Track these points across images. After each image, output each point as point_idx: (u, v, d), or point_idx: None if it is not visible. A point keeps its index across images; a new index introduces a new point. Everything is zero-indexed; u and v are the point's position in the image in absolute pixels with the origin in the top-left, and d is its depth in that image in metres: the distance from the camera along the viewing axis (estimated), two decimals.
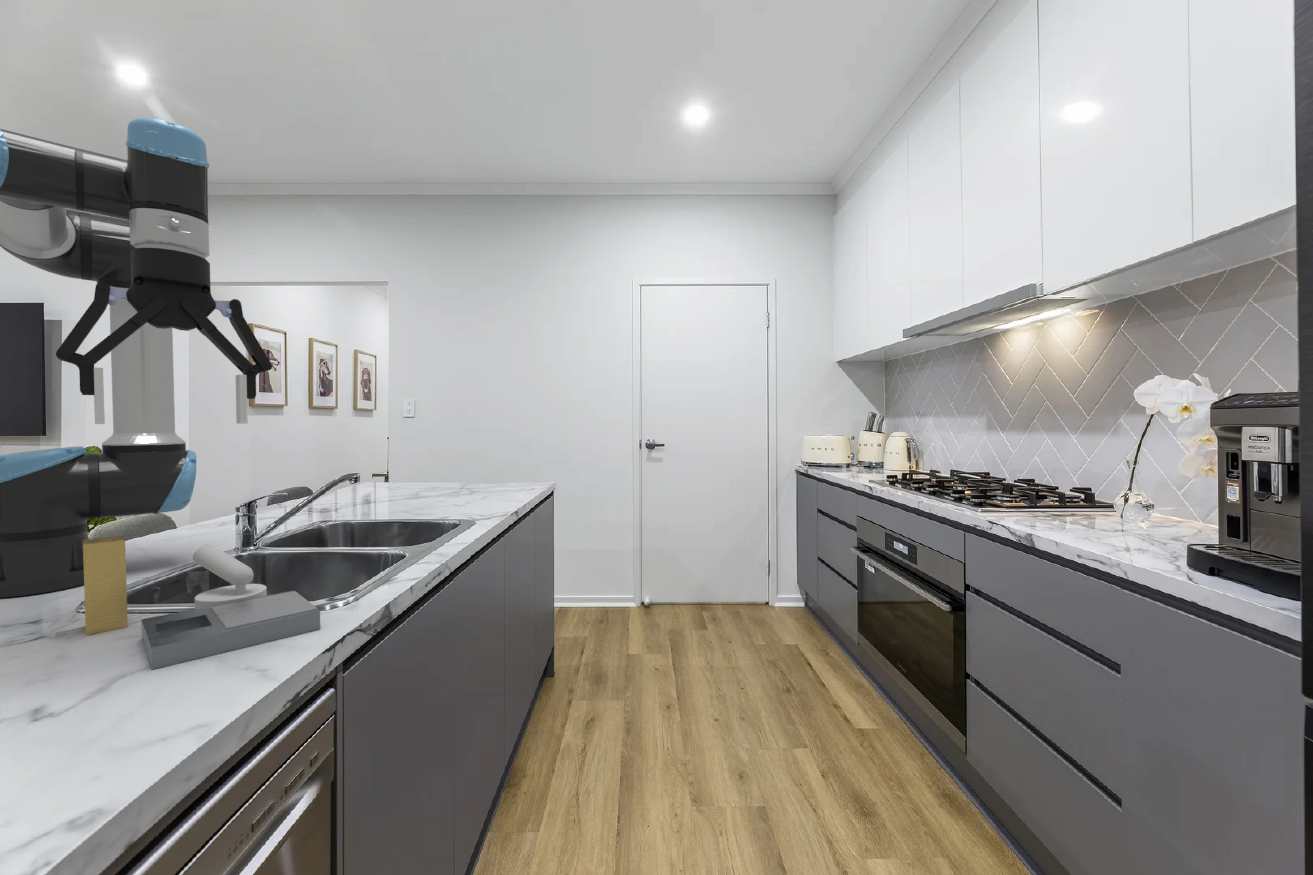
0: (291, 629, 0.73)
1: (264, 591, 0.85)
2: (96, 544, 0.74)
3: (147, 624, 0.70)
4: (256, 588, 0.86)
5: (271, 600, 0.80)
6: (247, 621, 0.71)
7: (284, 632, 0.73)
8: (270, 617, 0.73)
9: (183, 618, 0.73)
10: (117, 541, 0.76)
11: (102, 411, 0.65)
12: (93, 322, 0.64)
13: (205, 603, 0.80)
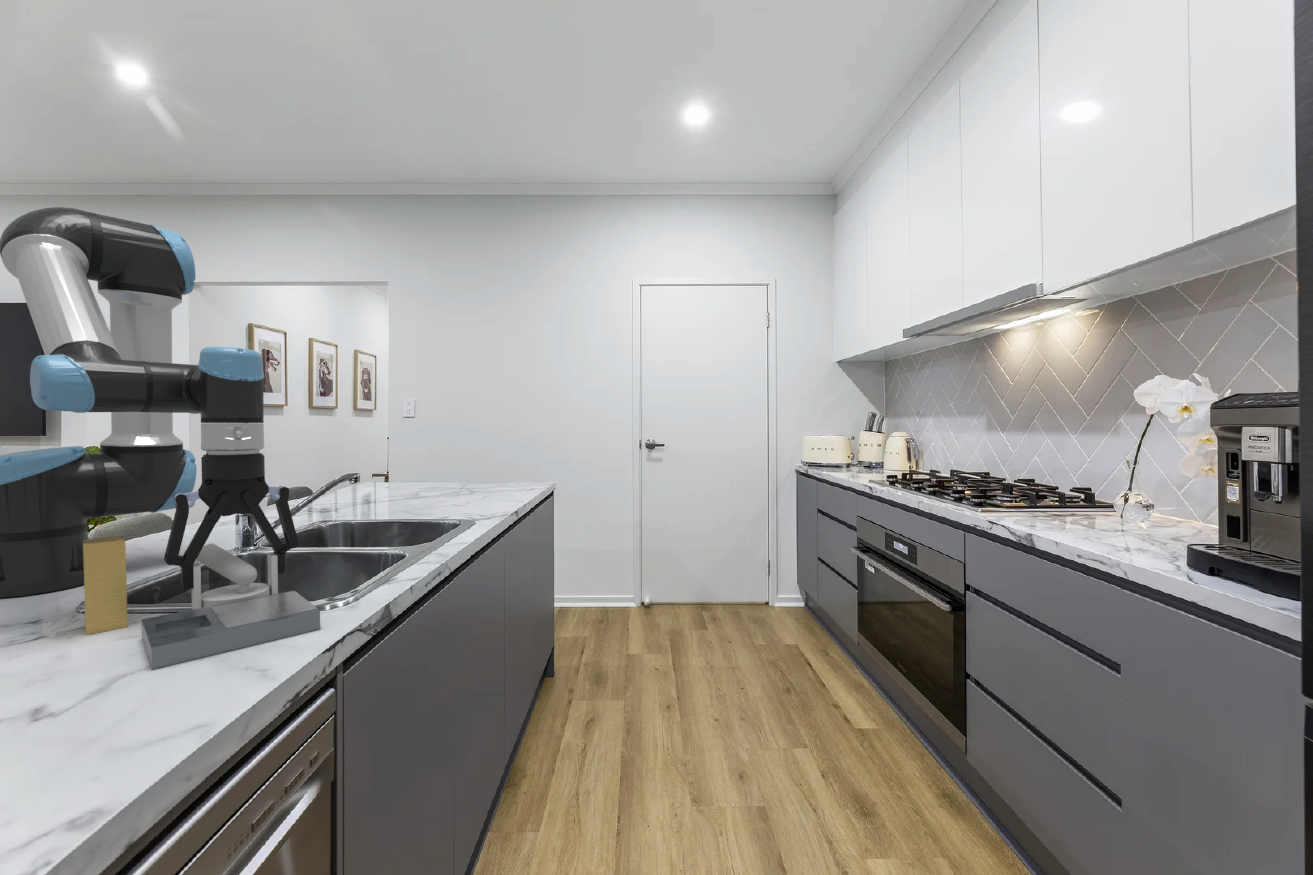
0: (291, 629, 0.73)
1: (268, 590, 0.85)
2: (96, 544, 0.74)
3: (147, 624, 0.70)
4: (259, 587, 0.86)
5: (271, 600, 0.80)
6: (247, 621, 0.71)
7: (284, 632, 0.73)
8: (270, 617, 0.73)
9: (183, 618, 0.73)
10: (117, 541, 0.76)
11: (199, 601, 0.80)
12: (183, 528, 0.78)
13: (210, 602, 0.80)
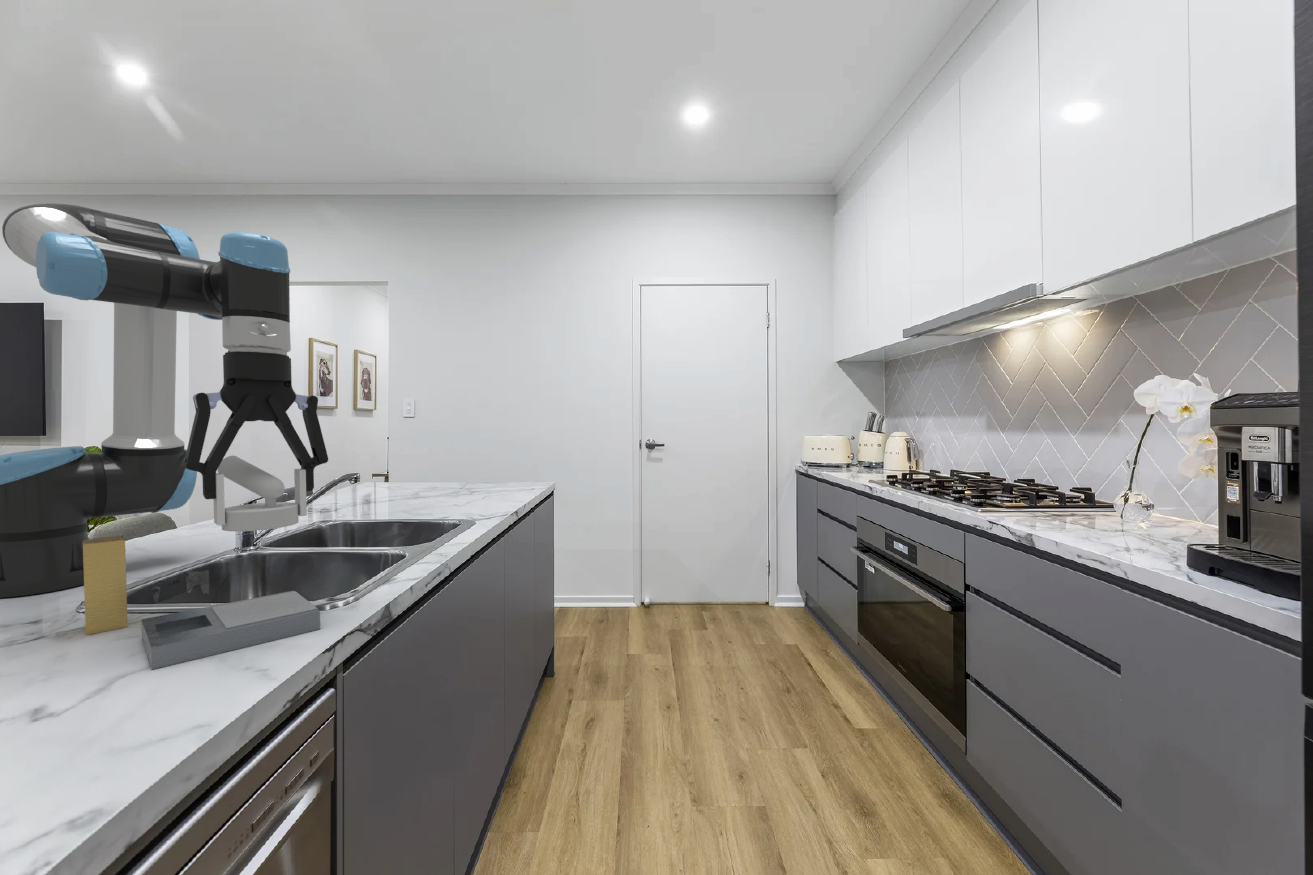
0: (291, 629, 0.73)
1: (296, 507, 0.78)
2: (96, 544, 0.74)
3: (147, 624, 0.70)
4: (287, 504, 0.78)
5: (271, 600, 0.80)
6: (247, 621, 0.71)
7: (284, 632, 0.73)
8: (270, 617, 0.73)
9: (183, 618, 0.73)
10: (117, 541, 0.76)
11: (223, 513, 0.72)
12: (205, 430, 0.71)
13: (234, 513, 0.72)
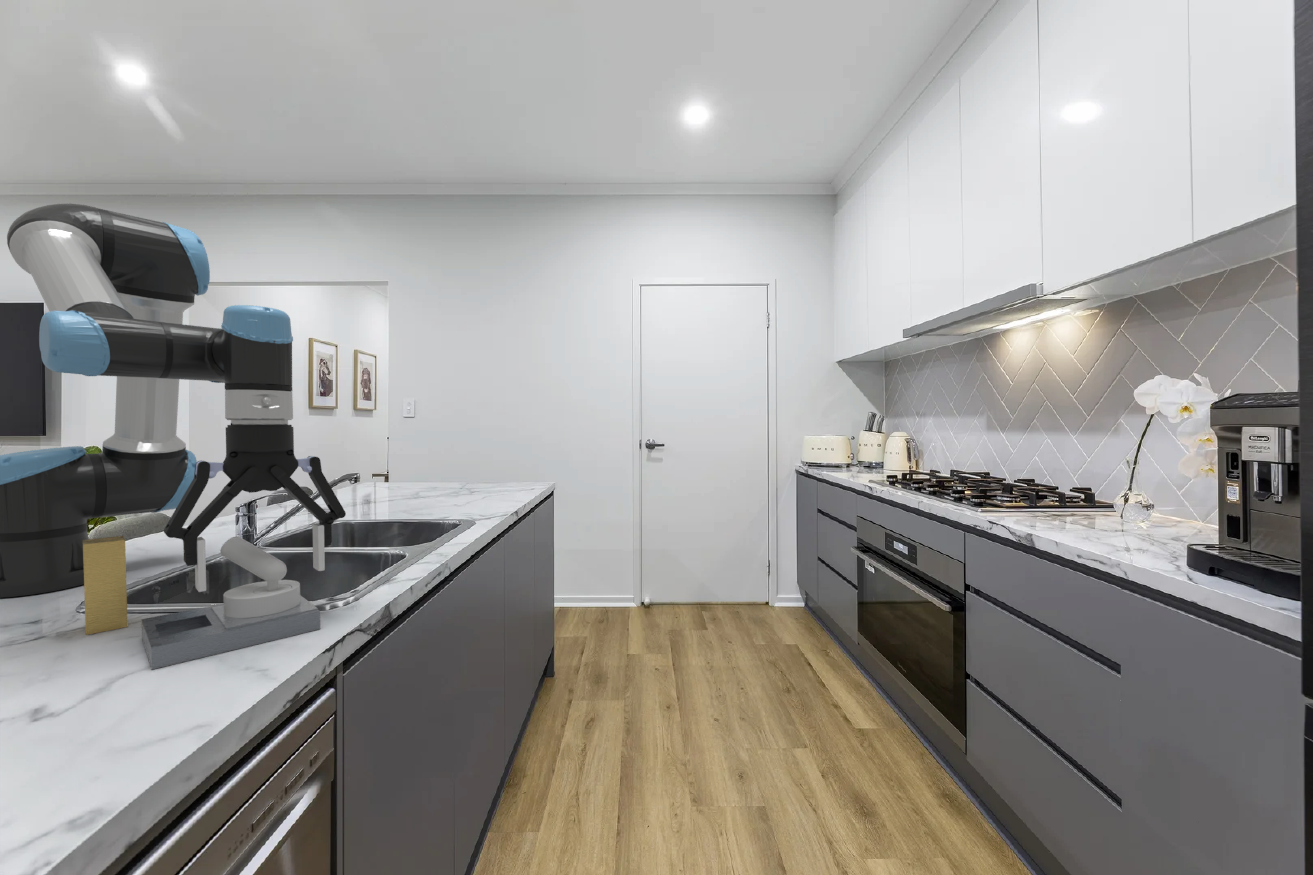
0: (291, 629, 0.73)
1: (298, 587, 0.78)
2: (96, 544, 0.74)
3: (147, 624, 0.70)
4: (289, 584, 0.79)
5: None
6: (247, 621, 0.71)
7: (284, 632, 0.73)
8: (270, 617, 0.73)
9: (183, 618, 0.73)
10: (117, 541, 0.76)
11: (204, 579, 0.71)
12: (196, 499, 0.70)
13: (236, 600, 0.73)
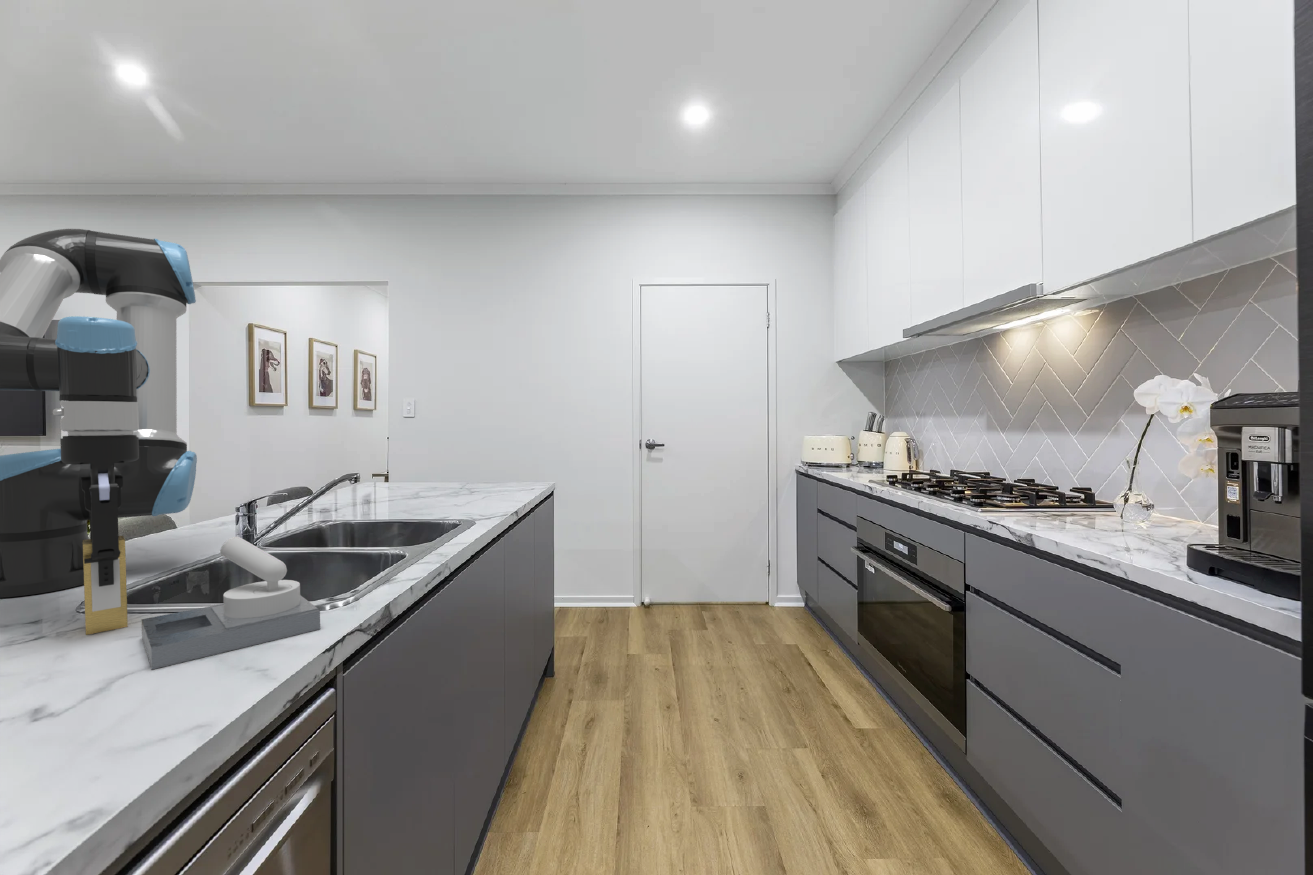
0: (291, 629, 0.73)
1: (298, 588, 0.78)
2: None
3: (147, 624, 0.70)
4: (289, 584, 0.79)
5: None
6: (247, 621, 0.71)
7: (284, 632, 0.73)
8: (270, 617, 0.73)
9: (183, 618, 0.73)
10: None
11: None
12: (89, 511, 0.78)
13: (236, 600, 0.73)
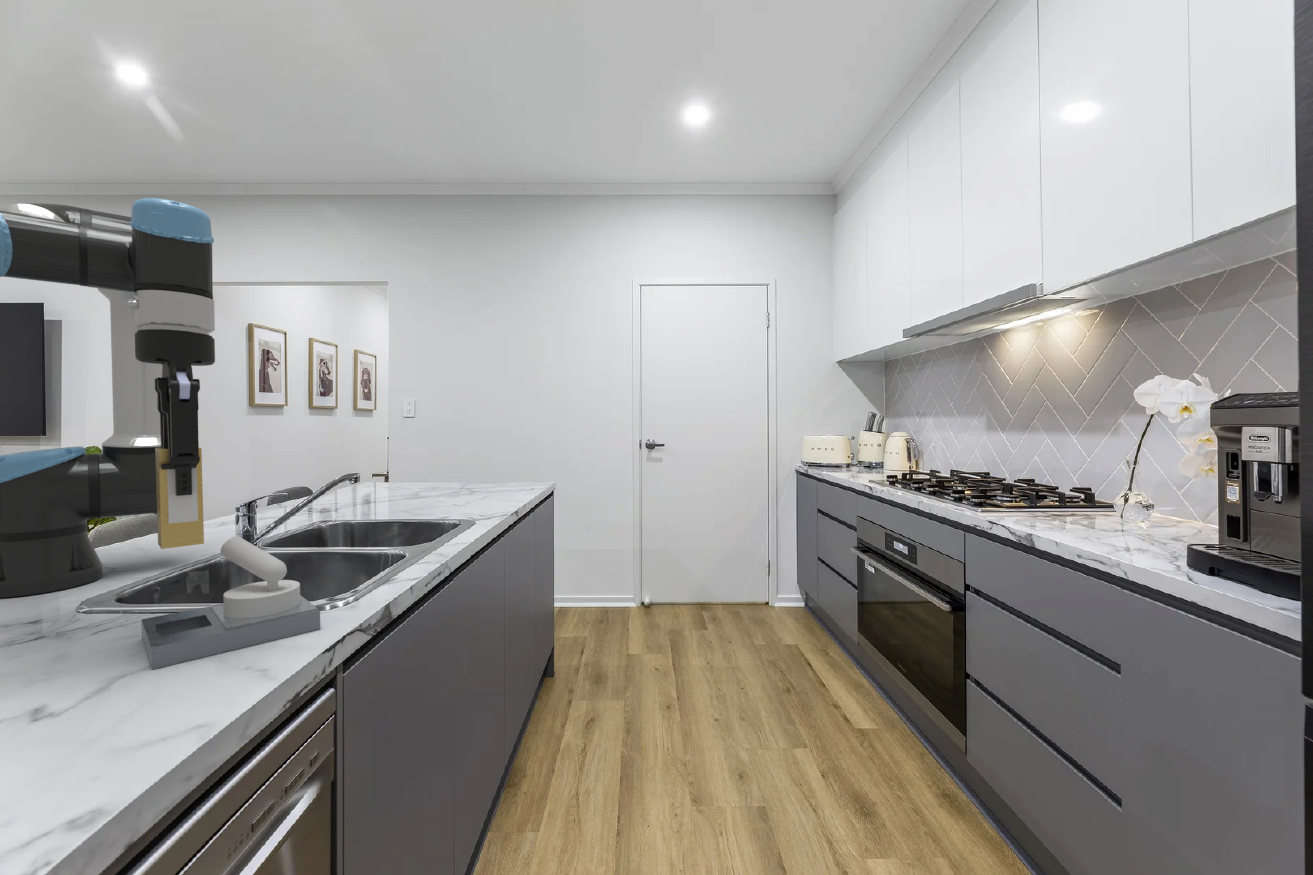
0: (291, 629, 0.73)
1: (298, 588, 0.78)
2: None
3: (147, 624, 0.70)
4: (289, 584, 0.79)
5: None
6: (247, 621, 0.71)
7: (284, 632, 0.73)
8: (270, 617, 0.73)
9: (183, 618, 0.73)
10: None
11: None
12: (160, 420, 0.72)
13: (236, 600, 0.73)
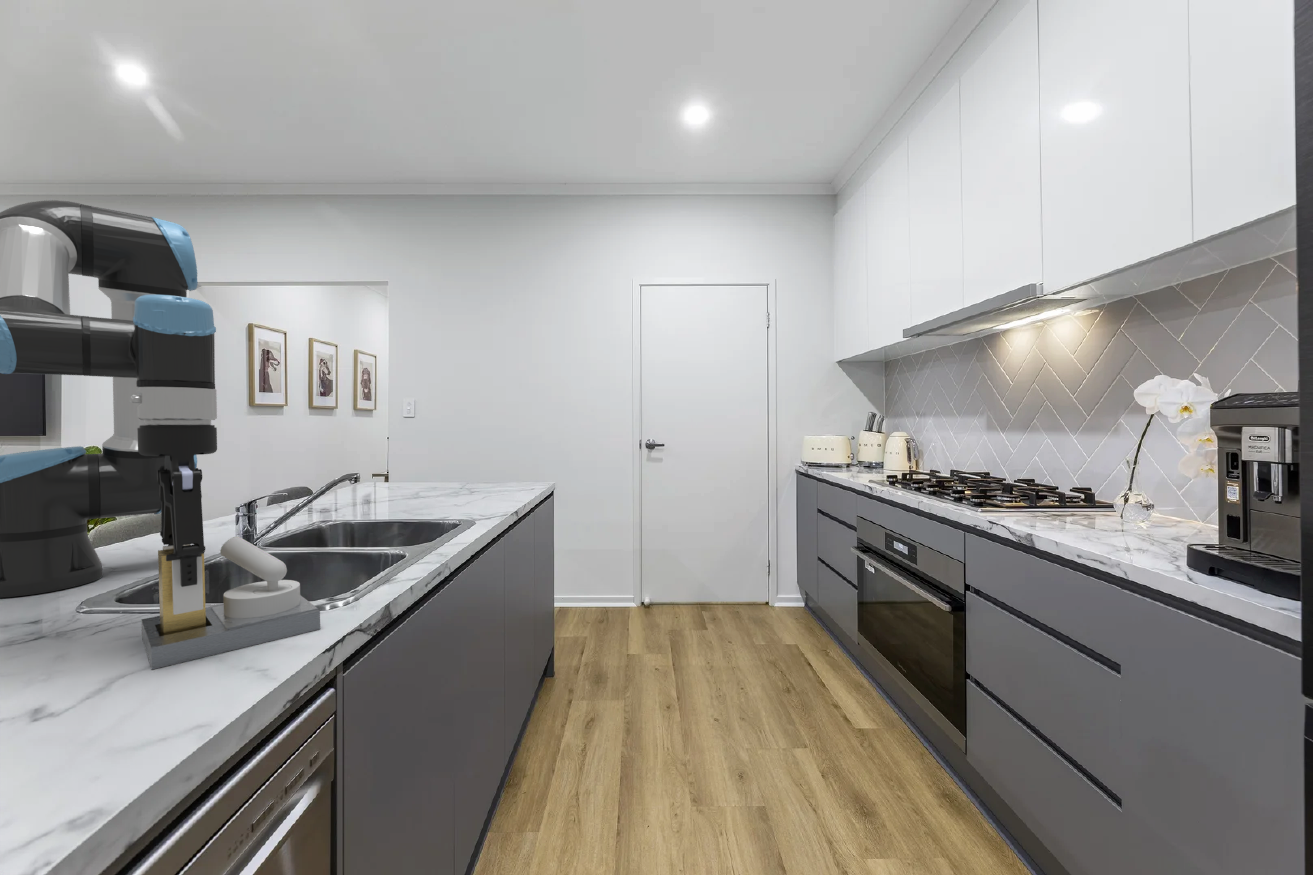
0: (291, 629, 0.73)
1: (298, 588, 0.78)
2: None
3: (147, 624, 0.70)
4: (289, 584, 0.79)
5: None
6: (247, 621, 0.71)
7: (284, 632, 0.73)
8: (270, 617, 0.73)
9: None
10: None
11: None
12: (162, 502, 0.73)
13: (236, 600, 0.73)
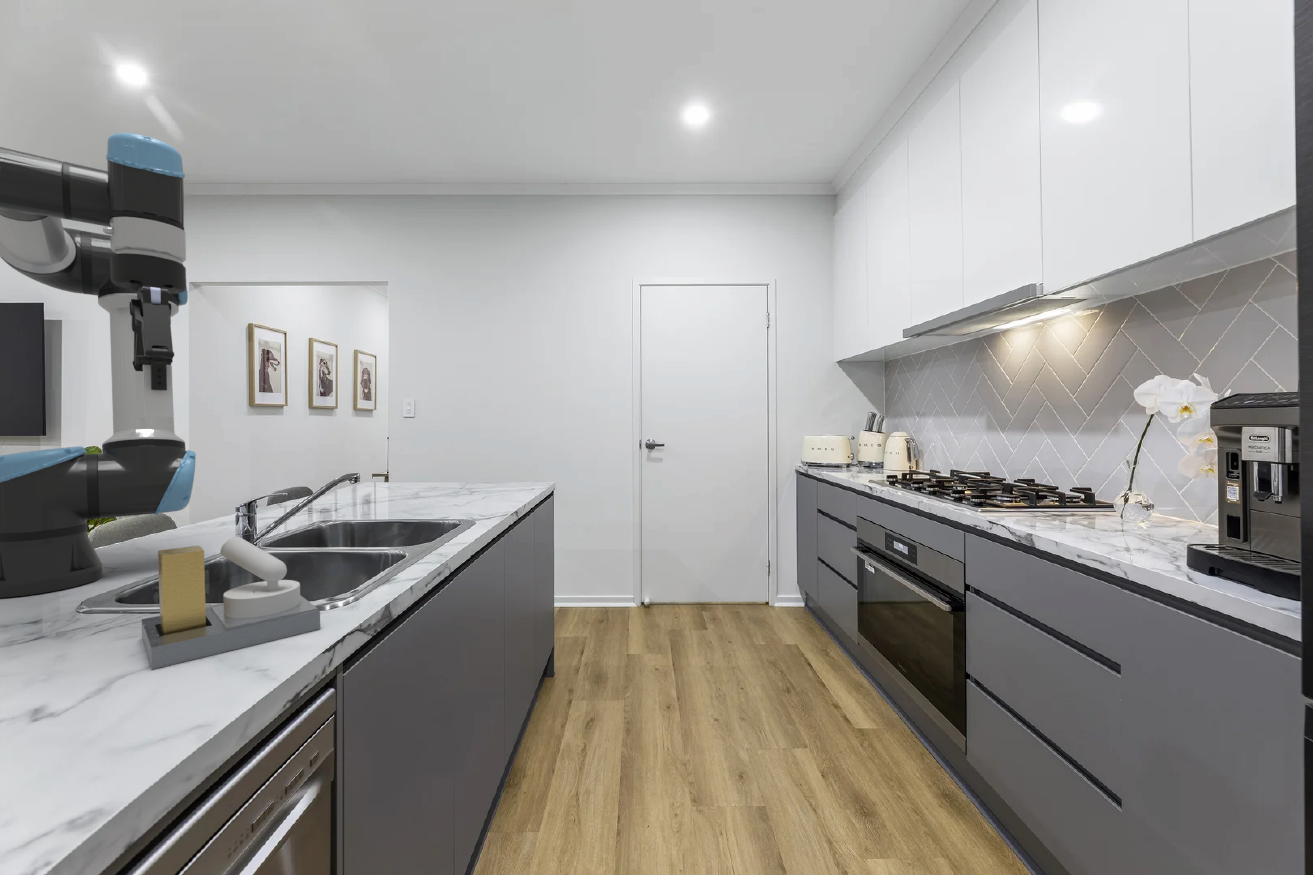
0: (291, 629, 0.73)
1: (298, 588, 0.78)
2: (175, 555, 0.68)
3: (147, 624, 0.70)
4: (289, 584, 0.79)
5: None
6: (247, 621, 0.71)
7: (284, 632, 0.73)
8: (270, 617, 0.73)
9: None
10: (196, 552, 0.70)
11: (135, 406, 0.79)
12: (134, 334, 0.79)
13: (236, 600, 0.73)
